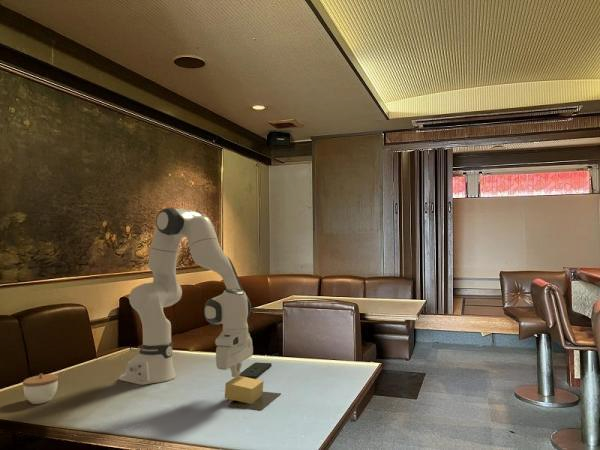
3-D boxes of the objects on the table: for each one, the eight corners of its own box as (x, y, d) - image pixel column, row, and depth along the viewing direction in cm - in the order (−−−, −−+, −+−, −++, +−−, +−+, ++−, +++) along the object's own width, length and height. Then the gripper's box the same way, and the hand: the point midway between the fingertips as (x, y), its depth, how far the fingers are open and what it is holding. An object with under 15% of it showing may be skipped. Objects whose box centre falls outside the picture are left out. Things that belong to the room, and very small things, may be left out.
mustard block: (225, 383, 149) (252, 388, 146) (238, 375, 157) (263, 380, 154) (224, 397, 149) (251, 404, 146) (237, 389, 157) (262, 395, 154)
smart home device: (236, 375, 176) (254, 362, 195) (236, 379, 176) (254, 365, 195) (256, 376, 174) (272, 362, 193) (256, 380, 174) (272, 366, 193)
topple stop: (225, 406, 145) (225, 403, 145) (247, 390, 160) (247, 388, 160) (261, 410, 140) (261, 407, 140) (280, 394, 155) (280, 391, 155)
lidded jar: (21, 408, 147) (21, 380, 148) (24, 399, 157) (24, 372, 157) (57, 402, 152) (57, 375, 153) (58, 393, 162) (58, 368, 162)
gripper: (241, 329, 164) (242, 367, 164) (212, 341, 145) (212, 383, 145) (256, 330, 162) (257, 368, 161) (229, 342, 143) (229, 385, 142)
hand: (236, 375), depth 153 cm, fingers closed
